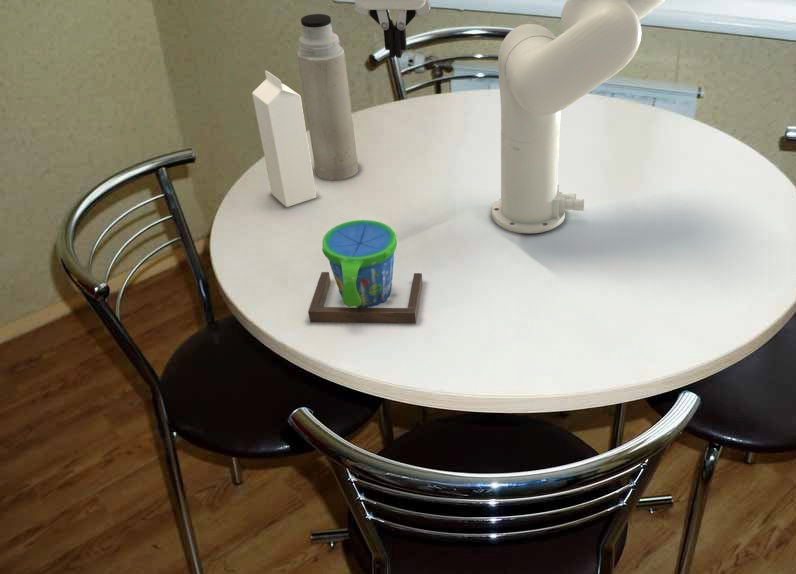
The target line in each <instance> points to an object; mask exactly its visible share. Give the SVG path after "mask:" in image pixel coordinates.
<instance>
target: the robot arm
mask: <svg viewBox="0 0 796 574" xmlns="http://www.w3.org/2000/svg"><path fill="white" fill-rule="evenodd" d="M353 1H354V12H355V13H356V14H358V15H363V16H366V17H371V19H372V20H374V21H375V22H376V23H377V24H378V25H379V26H380V29H381V30H383V41H384V49H385V51H388V52H389V58H390V59H394V58H397V59H401V58H402V56H403V52H404V51H406V50H407V45H408V44H407V33H406V32H407V30H406V29H407V28H406V27H407V25H409V24H410V23H411V22H412V20H414V18H415V17H420V16H421V17H422V16H424V15H425V16H426V15H428V14H429V13H430V12H431V8H432V7H431V3H430V0H353ZM665 1H666V0H566V1H565V3H564V5H563V7H562V10H561V14H560V21H561V23H560V24H561V27H562V29H563V33H561V34H559V35H558V36H557V37H556V36H555V34H553V32H551V31H550V30H549V29H548V28H546V27H544V26H542V25H540V24H536V23H524V24H520V25H519V26H516V27H515V28H513V29H511V30H510V31H509V32H508V33H507V34H506V36H505V37H504V38H503V41H502V43H501V45H500V47H499V50H498V51H499V52H498V58H497V69H498V70H497V71H498V83H499V96H500V97H499V98H500V198H499V199H498V200H496V201H495V203H494V204H493V205H492V208H491V216H492V220H493V221H494V223H496V224H497V226H498V227H499V226H500V228H503V229H505V230H507V231H509V232H514V233H517V234H518V233H520V234H539V233H540V234H541V233H545V232H549V231H551V230H554V229H556V228H557V227H559V226H560V225H561V224H562V223H563V222H564V220H565V217H566V211H575V212H576V211H577V212H579V211H580V212H581V211H584V207H585V200H584V199H583V198H577V193H563V191H560V187H559V186H560V185H559V183H558V182H559V181H558V180H559V177H558V176H559V159H560V139H561V138H560V137H561V119H562V118H561V117H562V110H564V109H567V108H568V107H569V106H571V105H573V104H574V103H575V102H577V101H579V100H580V99H581V98H583V97H585V96H586V95H587V94H589V93H590V92H592V91H593V90H595V89H596V88H598V87H599V86H601V85H602V84H604V83H605V82H606V81H608V80H609V79H611V78H613V77H614V76H615V75H616V74H618V73H619V72H621V71H622V70H623V69H624V68H626V66H627V65H628V64H629V63H630V62H631V60H632V59H633V58H634V57H635V55H636V54H637V52H638V50H639V47H640V44H641V41H642V25H641V20H642V19H643V18H645V17H646V16H648V15H649V14H650V13H651V12H652V11H654V10H655V9H657V8H658V7H659V6H660V5H662V4H663V3H665ZM390 11H397V17H396V18H397V19H396V22H395V23H394V21H393V20H392V17H391V12H390Z"/></svg>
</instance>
